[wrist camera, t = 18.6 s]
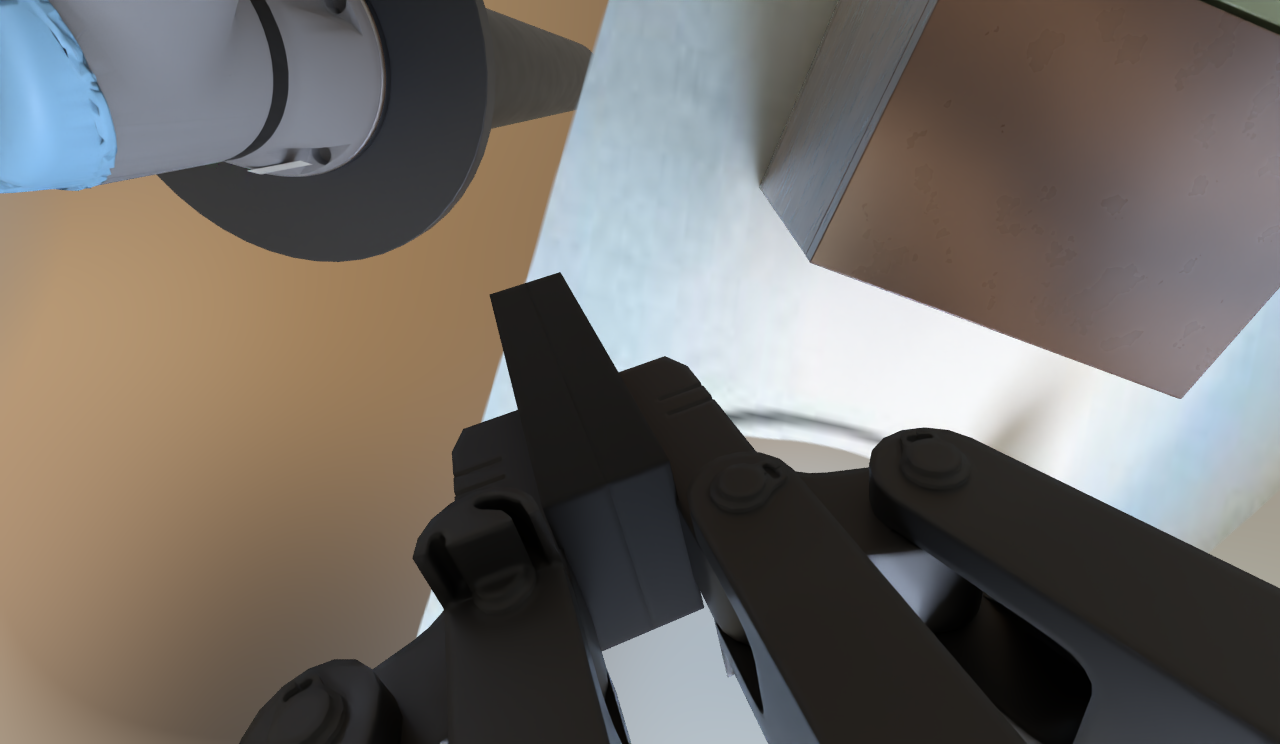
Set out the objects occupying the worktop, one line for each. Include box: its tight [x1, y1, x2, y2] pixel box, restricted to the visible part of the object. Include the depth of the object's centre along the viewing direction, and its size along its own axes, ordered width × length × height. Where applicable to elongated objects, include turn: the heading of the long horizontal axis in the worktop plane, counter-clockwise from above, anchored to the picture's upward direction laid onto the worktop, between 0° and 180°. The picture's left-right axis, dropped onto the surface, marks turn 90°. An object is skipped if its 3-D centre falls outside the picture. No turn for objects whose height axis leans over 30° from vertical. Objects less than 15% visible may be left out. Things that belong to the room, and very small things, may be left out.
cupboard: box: [759, 0, 1280, 399], centre depth 30 cm, size 12×17×19 cm
